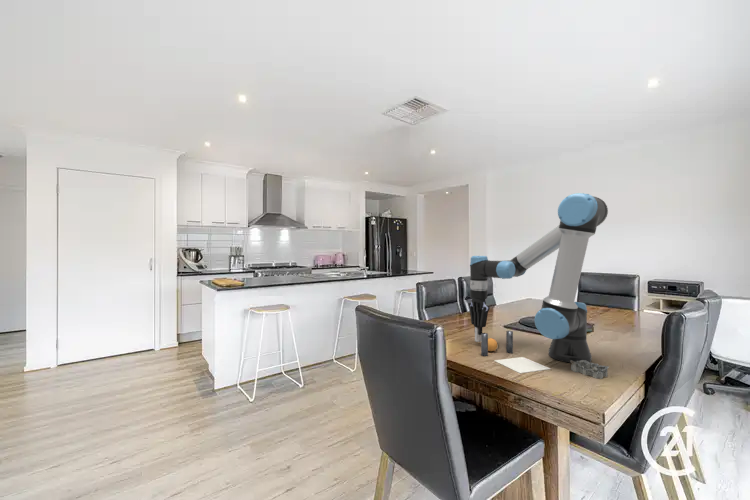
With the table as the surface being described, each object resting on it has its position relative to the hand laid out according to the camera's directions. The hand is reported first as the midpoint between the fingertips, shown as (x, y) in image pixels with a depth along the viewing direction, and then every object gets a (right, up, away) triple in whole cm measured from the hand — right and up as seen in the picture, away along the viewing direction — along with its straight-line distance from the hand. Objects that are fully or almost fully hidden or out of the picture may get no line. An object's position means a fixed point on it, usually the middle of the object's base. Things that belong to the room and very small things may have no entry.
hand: (478, 341), depth 154 cm
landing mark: (+9, -2, -26) cm, 27 cm away
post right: (+10, -2, -10) cm, 15 cm away
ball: (+3, +1, -8) cm, 9 cm away
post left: (-2, -2, -14) cm, 15 cm away
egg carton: (+29, -3, -33) cm, 45 cm away
